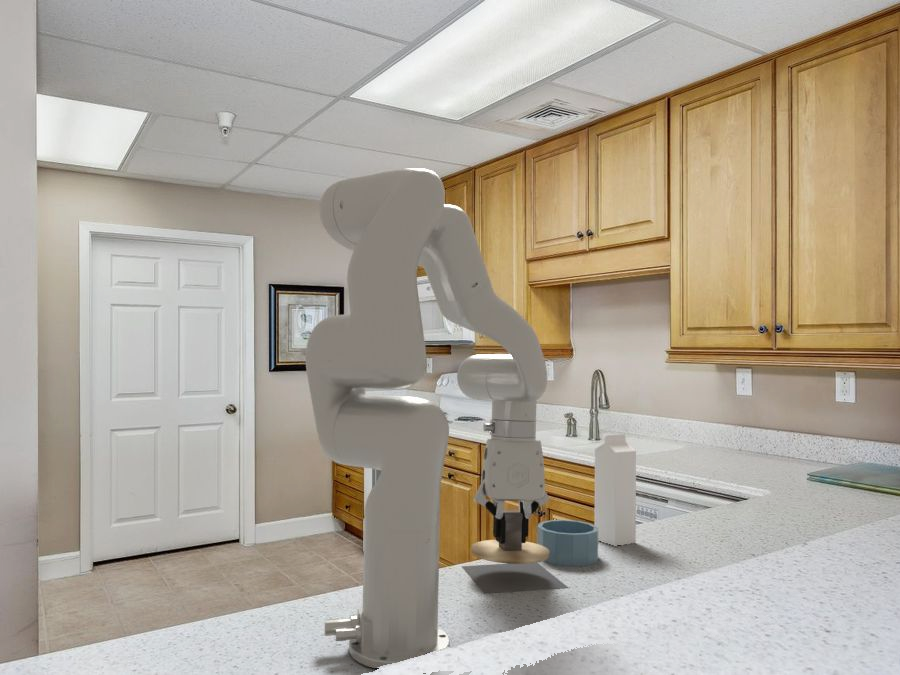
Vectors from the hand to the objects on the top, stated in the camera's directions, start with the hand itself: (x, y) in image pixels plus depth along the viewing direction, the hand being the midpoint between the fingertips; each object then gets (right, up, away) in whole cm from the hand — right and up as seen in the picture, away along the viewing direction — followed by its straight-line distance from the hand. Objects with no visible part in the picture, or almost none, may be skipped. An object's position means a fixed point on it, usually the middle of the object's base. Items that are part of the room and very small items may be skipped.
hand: (510, 540), depth 109 cm
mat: (0, -7, +1) cm, 7 cm away
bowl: (+12, -7, +13) cm, 19 cm away
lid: (0, -2, 0) cm, 2 cm away
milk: (+24, -8, +26) cm, 36 cm away
